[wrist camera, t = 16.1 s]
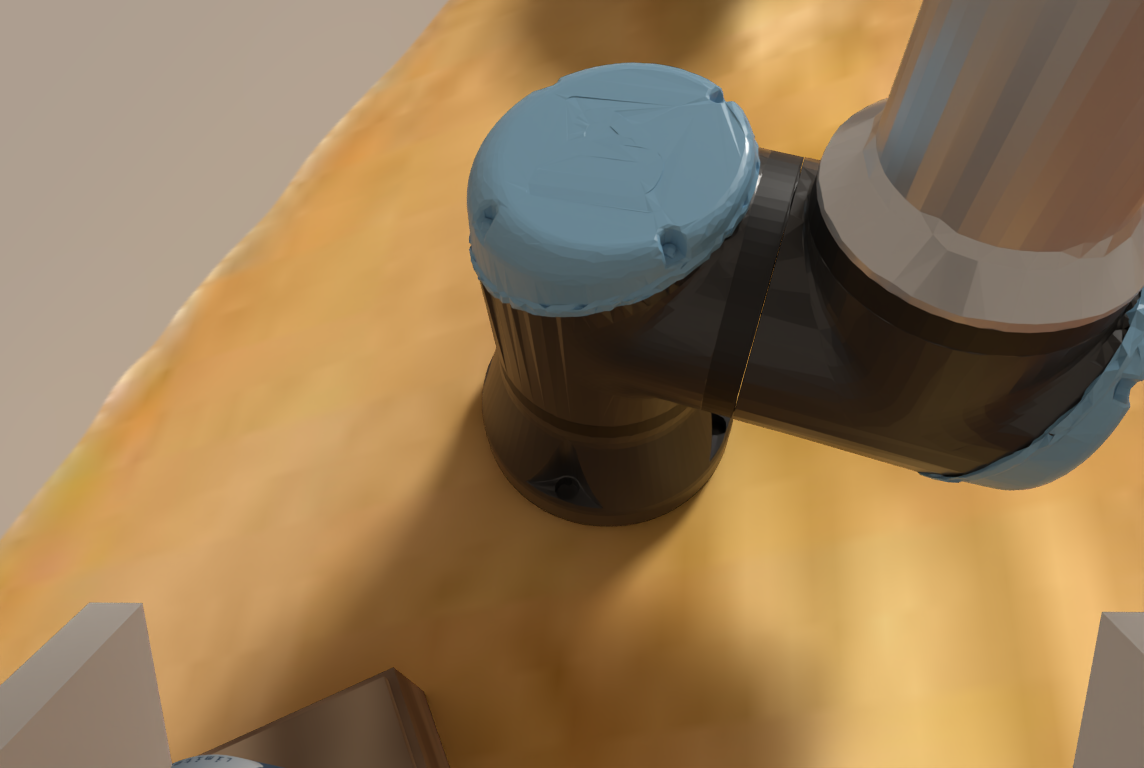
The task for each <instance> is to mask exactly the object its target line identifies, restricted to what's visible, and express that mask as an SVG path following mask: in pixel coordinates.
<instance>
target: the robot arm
mask: <svg viewBox="0 0 1144 768" xmlns="http://www.w3.org/2000/svg"><path fill="white" fill-rule="evenodd" d="M803 158H804V157H800V156H795V155H791V154H786V153H781V152H777V151H772V150H768V149H764V148H759V147H758V144H757V142H756V141H755V136H754V134H753V131H752V129H751V126H750V124H749V121H748V119H747V117H746V115H745V114H744V112H743V110H742V109H741V108H740V107H739V105H737V104H736V103H735V102H732V101H731V102H726V101H725V100H724V97H723V91H722V89H721V88H720V87H719V86H717V85H716V84H714V83H713V82H711V81H709V80H708V79H706V78H704V77H702V76H699V75H697V74H694V73H691V72H688V71H686V70H683V69H680V68H675V67H671V66H666V65H660V64H652V63H618V64H609V65H603V66H597V67H593V68H588V69H585V70H581V71H578V72H575V73H572V74H569V75H566V76H564V77H561V78H560V79H559V80H558V82H557V83H556V84H554V85H553V86H550V87H547V88H544V89H541V90H537V91H534V92H532V93H531V94H529V95H528V96H526V97H525V98H523V99H522V100H521V101H519V102H518V103H517V104H516V105H514V106H513V107H512V108H511V109H510V110H509V111H508V112H507V113H506V114H505V115H504V116H503V117H502V118H501V119H500V120H499V121H498V122H497V123H496V124H495V126H494V127H493V128H492V129H491V131H490V132H489V134H488V135H487V137H486V138H485V140H484V141H483V143H482V145H481V147H480V148H479V150H478V152H477V155H476V157H475V159H474V162H473V165H472V168H471V171H470V176H469V180H468V187H467V210H468V219H469V229H470V236H469V243H470V244H471V246H470V249H469V251H470V256H471V262H472V264H473V268H474V270H475V272H476V274H477V275H478V280H480V284H481V288H482V292H483V296H484V300H485V304H486V308H487V312H488V316H489V320H490V324H491V328H492V332H493V336H494V340H495V344H496V350H495V353H494V355H493V357H492V359H491V361H490V364H489V366H488V369H487V372H486V376H485V380H484V385H483V395H482V412H483V420H484V425H485V430H486V433H487V436H488V440H489V443H490V446H491V449H492V452H493V455H494V457H495V459H496V461H497V463H498V465H499V467H500V468H501V470H502V472H503V473H504V475H505V476H506V478H507V479H508V480H509V481H510V483H511V484H512V485H513V486H514V487H515V488H516V489H517V490H518V491H519V492H520V493H521V494H522V495H523V496H524V497H526V498H527V499H528V500H529V501H531V502H532V503H533V504H535V505H537V506H538V507H540V508H541V509H543V510H545V511H547V512H549V513H551V514H553V515H555V516H557V517H560V518H563V519H566V520H569V521H572V522H576V523H580V524H586V525H593V526H624V525H631V524H636V523H640V522H644V521H648V520H651V519H654V518H656V517H659V516H661V515H664V514H666V513H668V512H670V511H672V510H673V509H675V508H677V507H678V506H680V505H681V504H683V503H684V502H686V501H687V500H688V499H690V498H691V497H692V496H693V495H694V494H695V493H697V492H698V491H699V490H700V489H701V488H702V486H703V485H704V484H705V483H706V482H707V481H708V479H709V478H710V477H711V475H712V474H713V472H714V471H715V469H716V468H717V466H718V464H719V462H720V460H721V458H722V456H723V453H724V451H725V448H726V445H727V441H728V438H729V434H730V431H731V426H732V422H733V419H735V420H738V421H742V422H746V423H749V424H753V425H757V426H760V427H764V428H768V429H771V430H775V431H778V432H782V433H786V434H789V435H793V436H796V437H800V438H803V439H807V440H810V441H814V442H817V443H820V444H824V445H827V446H831V447H834V448H838V449H841V450H844V451H848V452H851V453H855V454H858V455H861V456H865V457H868V458H872V459H875V460H879V461H882V462H885V463H889V464H892V465H896V466H899V467H903V468H906V469H909V470H913V471H916V472H918V473H919V474H920V475H923V476H925V477H928V478H931V479H934V480H940V481H945V482H956V483H959V482H961V481H963V482H968V483H972V484H977V485H981V486H986V487H990V488H995V489H1000V490H1026V489H1032V488H1035V487H1039V486H1042V485H1045V484H1048V483H1050V482H1052V481H1054V480H1056V479H1058V478H1060V477H1062V476H1064V475H1066V474H1067V473H1069V472H1070V471H1072V470H1073V469H1075V468H1076V467H1077V466H1079V465H1080V464H1081V463H1083V462H1084V461H1085V460H1086V459H1087V458H1089V457H1090V456H1091V455H1092V454H1093V453H1094V452H1095V451H1096V450H1097V449H1098V448H1099V447H1100V446H1101V445H1102V444H1103V443H1104V442H1105V440H1106V439H1107V438H1108V437H1109V436H1110V435H1111V433H1112V432H1113V431H1114V430H1115V428H1116V427H1117V426H1118V424H1119V423H1120V421H1121V420H1122V418H1123V417H1124V416H1125V414H1126V413H1127V411H1128V410H1129V408H1130V403H1129V394H1130V389H1131V388H1132V387H1133V386H1134V385H1135V384H1136V383H1137V382H1139V381H1143V380H1144V0H923V2H922V4H921V7H920V10H919V13H918V16H917V18H916V21H915V24H914V27H913V30H912V32H911V35H910V38H909V41H908V44H907V46H906V49H905V52H904V55H903V58H902V60H901V63H900V66H899V69H898V72H897V74H896V77H895V80H894V83H893V86H892V88H891V91H890V94H889V97H888V98H886V99H883V100H880V101H878V102H876V103H873V104H871V105H869V106H867V107H865V108H864V109H862V110H860V111H859V112H857V113H856V114H854V115H852V116H851V117H850V118H849V119H848V120H847V121H846V122H844V123H843V124H842V125H841V126H840V127H839V128H838V130H837V131H836V132H835V134H834V135H833V137H832V138H831V140H830V142H829V144H828V146H827V147H826V149H825V151H824V154H823V156H822V158H821V160H816V159H811V158H806V157H805V159H804V162H803ZM802 163H803V166H802ZM801 166H802V169H801ZM800 171H801V173H800ZM783 233H784V234H783ZM781 240H782V241H781ZM779 247H780V248H779ZM778 251H779V252H778ZM777 254H778V255H777ZM776 258H777V259H776ZM775 261H776V262H775ZM774 265H775V266H774ZM773 268H774V270H773ZM772 272H773V273H772ZM771 275H772V277H771ZM770 279H771V280H770ZM769 283H770V284H769ZM768 286H769V288H768ZM767 290H768V291H767ZM766 293H767V295H766ZM765 297H766V298H765ZM764 300H765V302H764ZM763 304H764V306H763ZM762 307H763V309H762ZM761 311H762V313H761ZM760 314H761V316H760ZM759 318H760V320H759ZM758 321H759V324H758ZM757 325H758V327H757ZM756 329H757V331H756ZM755 332H756V334H755ZM754 336H755V338H754ZM753 340H754V342H753ZM752 343H753V345H752ZM751 346H752V349H751ZM750 350H751V353H750ZM749 353H750V356H749ZM748 357H749V360H748ZM747 360H748V363H747ZM746 364H747V367H746ZM745 368H746V371H745ZM744 371H745V374H744ZM743 375H744V378H743ZM742 378H743V382H742ZM741 382H742V385H741ZM740 385H741V389H740ZM739 389H740V392H739ZM738 393H739V396H738ZM737 396H738V400H737ZM736 401H737V403H736ZM735 406H736V407H735ZM171 766H172V761H171V756H170V751H169V745H168V740H167V734H166V729H165V723H164V718H163V712H162V707H161V702H160V696H159V691H158V685H157V680H156V674H155V669H154V663H153V658H152V653H151V647H150V642H149V636H148V631H147V625H146V620H145V614H144V609H143V603H88V604H87V605H86V606H85V607H84V608H83V609H82V610H81V611H80V612H79V613H78V614H77V615H76V616H74V617H73V618H72V619H71V620H70V621H69V622H68V623H67V624H66V625H65V626H64V627H63V628H62V629H61V630H59V631H58V632H57V633H56V634H55V635H54V636H53V637H52V638H51V639H50V640H49V641H48V642H47V643H46V644H44V645H43V646H42V647H41V648H40V649H39V650H38V651H37V652H36V653H35V654H34V655H33V656H32V657H30V658H29V659H28V660H27V661H26V662H25V663H24V664H23V665H22V666H21V667H20V668H19V669H18V670H17V671H15V672H14V673H13V674H12V675H11V676H10V677H9V678H8V679H7V680H6V681H5V682H4V683H3V684H1V685H0V768H171ZM1073 768H1144V612H1102V615H1101V620H1100V625H1099V631H1098V636H1097V641H1096V647H1095V652H1094V657H1093V663H1092V668H1091V674H1090V679H1089V684H1088V690H1087V695H1086V700H1085V706H1084V711H1083V716H1082V722H1081V727H1080V732H1079V738H1078V743H1077V749H1076V754H1075V759H1074V765H1073Z"/></svg>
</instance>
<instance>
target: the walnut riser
mask: <svg viewBox="0 0 1144 768" xmlns="http://www.w3.org/2000/svg"><path fill="white" fill-rule="evenodd" d="M201 755H228V756H234V757H239V758H243V759H248V760H252V761H257V762H261V763H266V764H270V765H275V766H279V767H284V768H450V767H449V764H448V761H447V758H446V756H445V753H444V750H443V747H442V744H441V741H440V738H439V735H438V732H437V729H436V726H435V724H434V721H433V718H432V715H431V712H430V709H429V706H428V703H427V700H426V697H425V694H424V692H423V691H422V690H421V689H420V688H419V687H417V686H416V685H415V684H414V683H412V682H411V681H410V680H409V679H407V678H406V677H405V676H404V675H402V674H401V673H400V672H399V671H397V670H396V669H395V668H394V667H393V668H391V669H389V670H387V671H384V672H382V673H380V674H378V675H375V676H373V677H371V678H369V679H367V680H364V681H362V682H360V683H358V684H356V685H353V686H351V687H349V688H347V689H344V690H342V691H340V692H338V693H336V694H333V695H331V696H329V697H327V698H325V699H322V700H320V701H318V702H316V703H313V704H311V705H309V706H307V707H305V708H302V709H300V710H298V711H296V712H294V713H291V714H289V715H287V716H285V717H282V718H280V719H278V720H276V721H274V722H271V723H269V724H267V725H265V726H263V727H260V728H258V729H256V730H254V731H251V732H249V733H247V734H245V735H243V736H240V737H238V738H236V739H234V740H232V741H229V742H227V743H225V744H223V745H220V746H218V747H216V748H214V749H212V750H209V751H207V752H205V753H203V754H201ZM201 755H198V756H201Z"/></svg>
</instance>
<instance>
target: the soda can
mask: <svg viewBox="0 0 1144 768" xmlns="http://www.w3.org/2000/svg"><path fill="white" fill-rule="evenodd" d="M171 768H284V767H279V766H275V765H270V764H266V763H261V762H257V761H252V760H248V759H243V758H239V757H234V756H228V755H201V756H195V757H191V758H187V759H184V760H181V761H178V762H175V763H173V764H172V766H171Z"/></svg>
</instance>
